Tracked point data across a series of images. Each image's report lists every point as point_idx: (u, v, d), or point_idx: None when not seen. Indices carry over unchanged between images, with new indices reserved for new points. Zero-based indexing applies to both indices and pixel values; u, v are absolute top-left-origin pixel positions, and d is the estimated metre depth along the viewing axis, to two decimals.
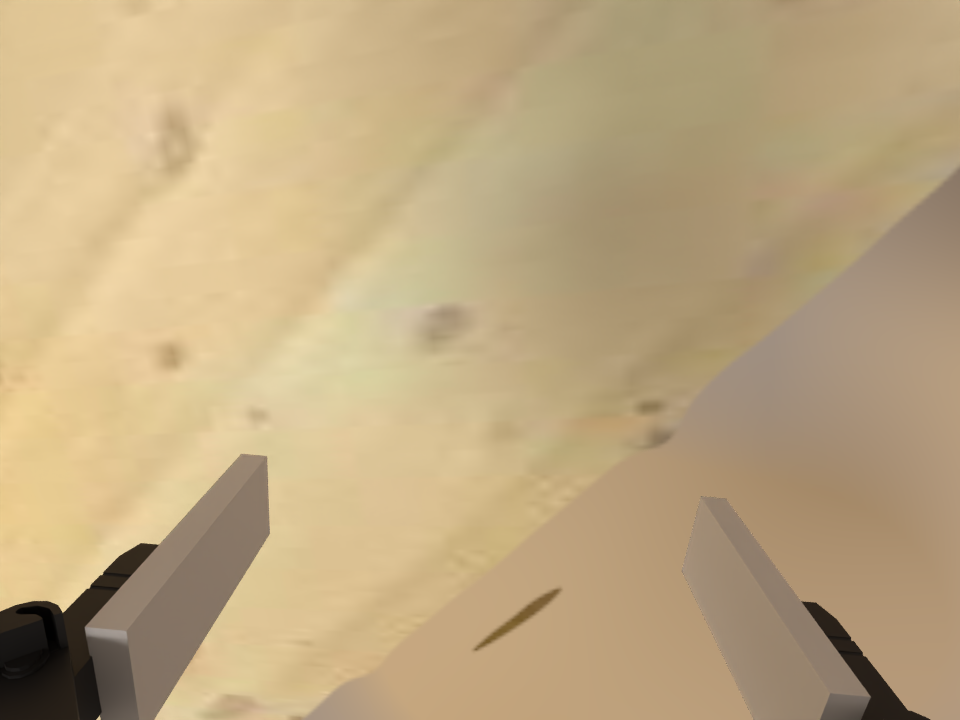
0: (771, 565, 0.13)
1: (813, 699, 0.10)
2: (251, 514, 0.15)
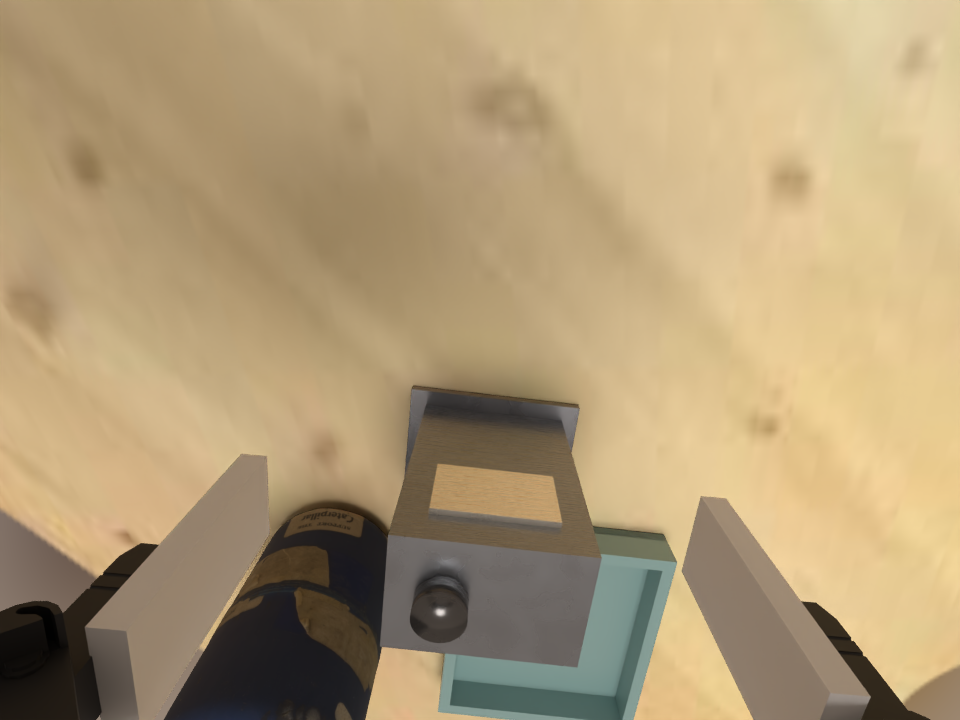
0: (771, 565, 0.13)
1: (813, 699, 0.10)
2: (251, 514, 0.15)
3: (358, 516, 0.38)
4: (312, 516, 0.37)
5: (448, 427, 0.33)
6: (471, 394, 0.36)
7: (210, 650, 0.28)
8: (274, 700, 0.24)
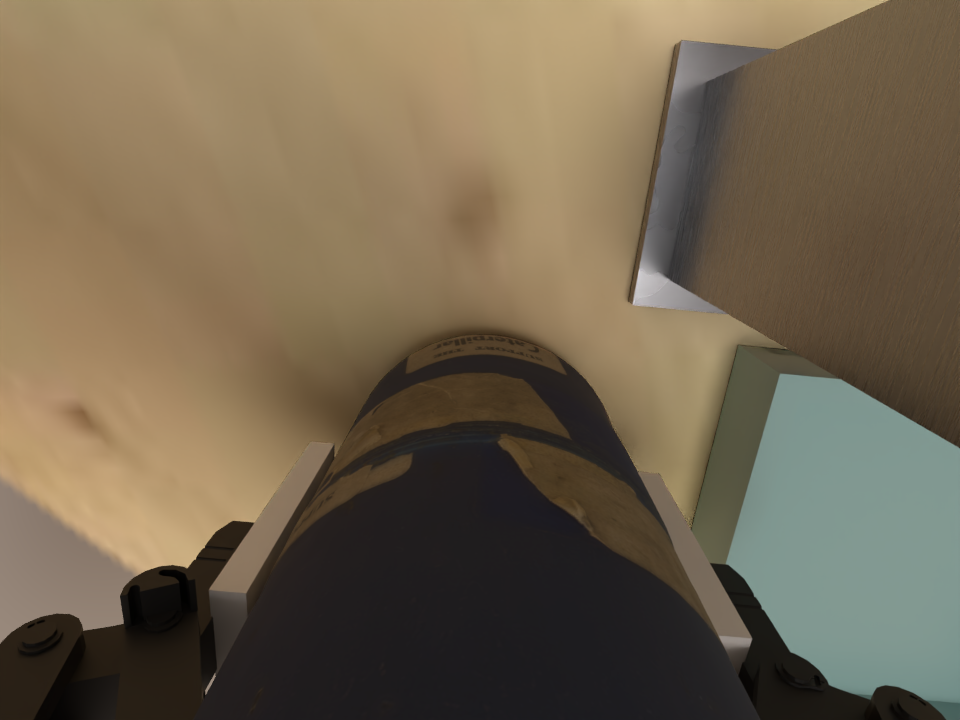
0: (688, 530, 0.14)
1: None
2: None
3: (543, 349, 0.19)
4: (457, 342, 0.18)
5: None
6: None
7: (280, 596, 0.08)
8: None
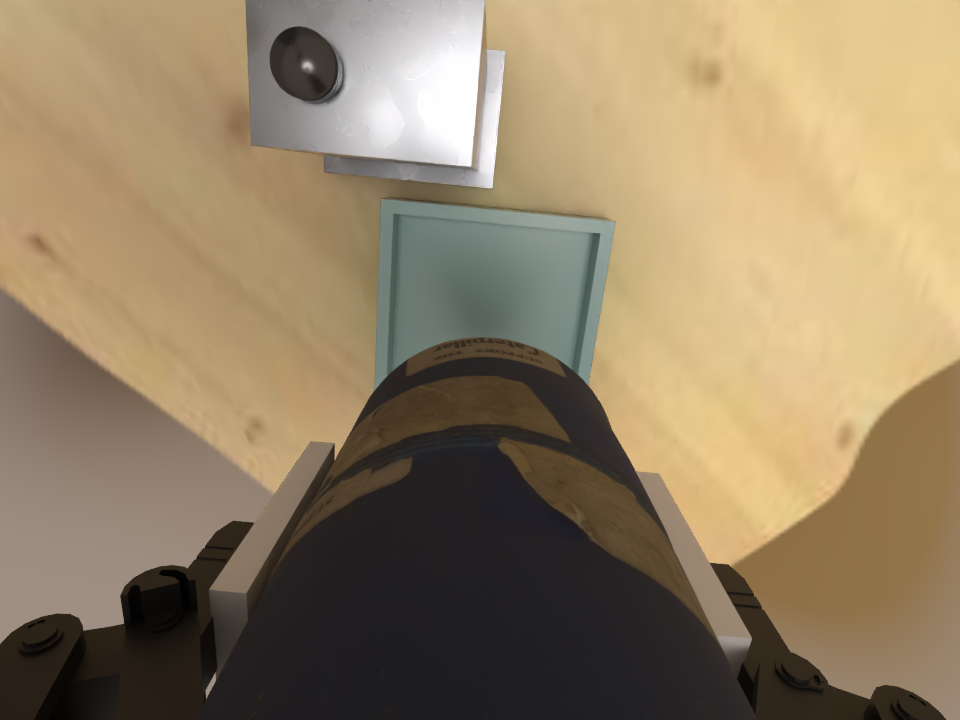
0: (687, 530, 0.14)
1: None
2: None
3: (543, 351, 0.19)
4: (457, 344, 0.18)
5: None
6: None
7: (280, 600, 0.08)
8: None
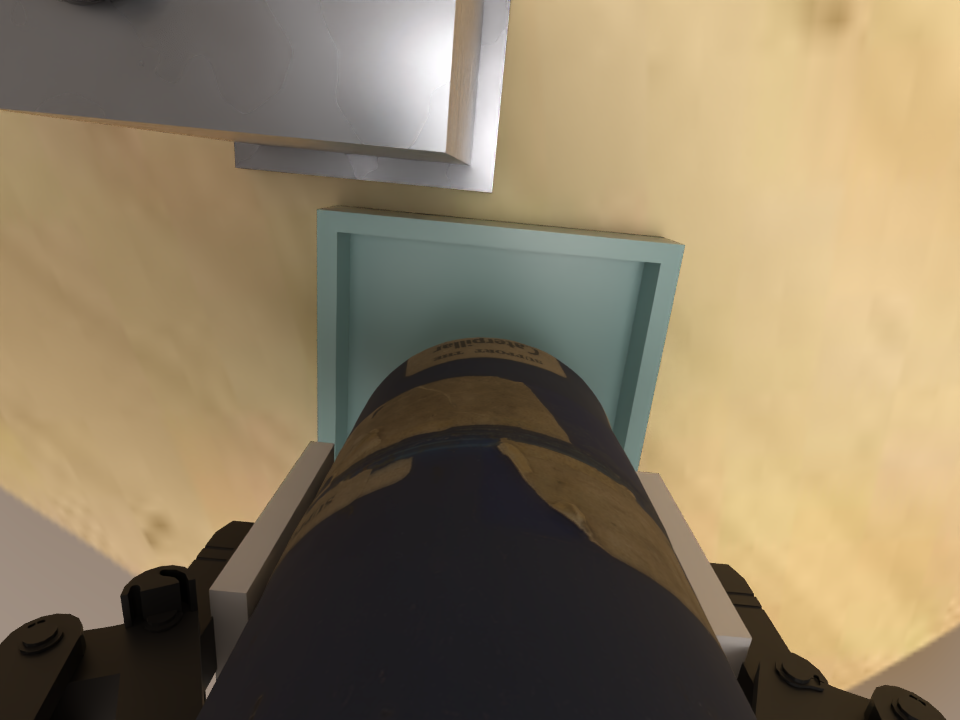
0: (687, 530, 0.14)
1: None
2: None
3: (543, 351, 0.19)
4: (457, 345, 0.18)
5: None
6: None
7: (280, 601, 0.08)
8: None
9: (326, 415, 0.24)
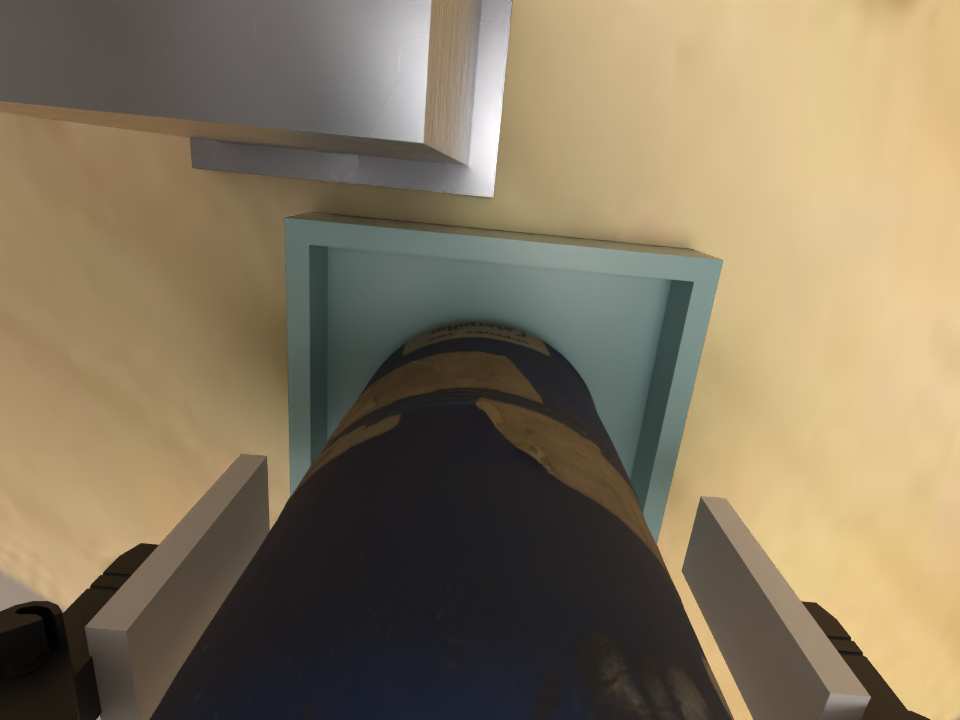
0: (771, 565, 0.13)
1: (813, 699, 0.10)
2: (251, 514, 0.15)
3: (530, 334, 0.20)
4: (450, 328, 0.19)
5: None
6: None
7: (284, 524, 0.10)
8: (554, 632, 0.06)
9: (300, 457, 0.21)
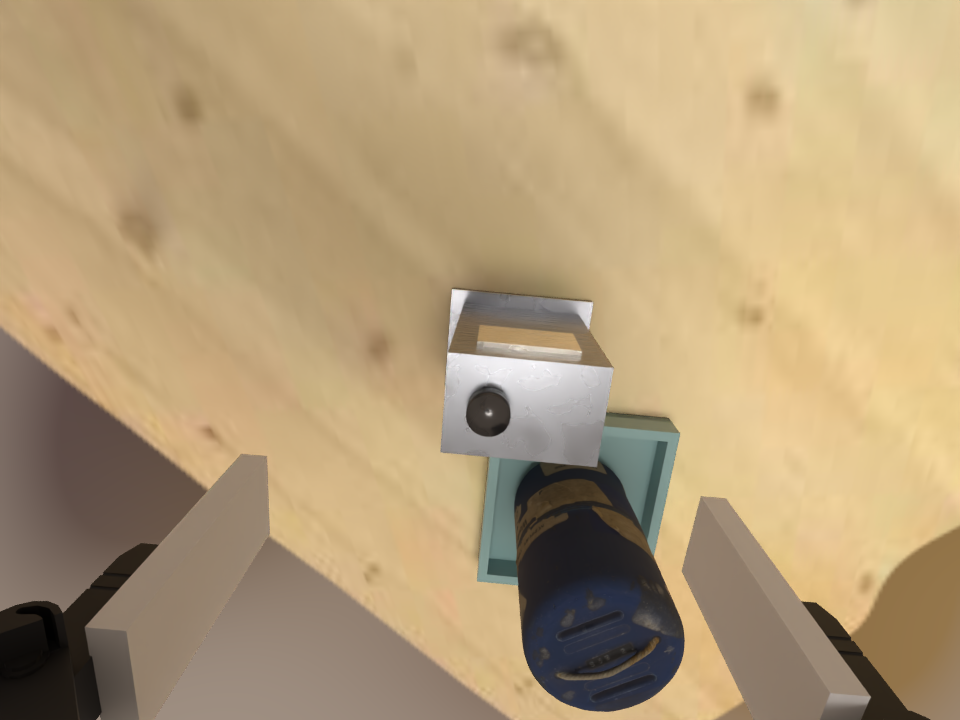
0: (771, 565, 0.13)
1: (813, 699, 0.10)
2: (251, 514, 0.15)
3: None
4: None
5: (484, 313, 0.40)
6: (501, 293, 0.43)
7: (544, 551, 0.34)
8: (631, 575, 0.31)
9: (488, 514, 0.45)
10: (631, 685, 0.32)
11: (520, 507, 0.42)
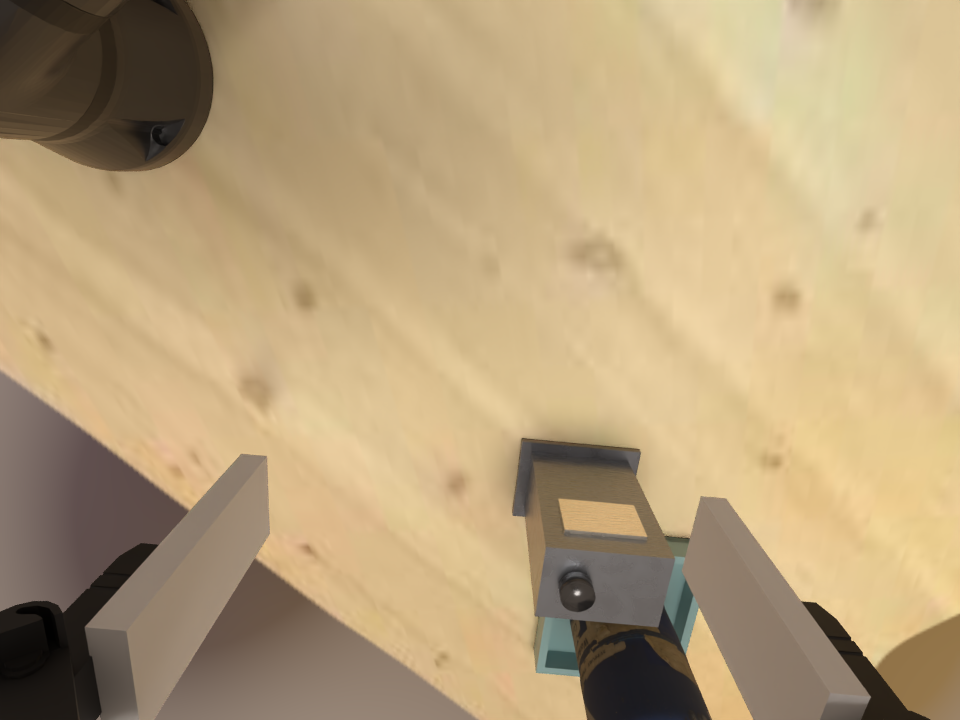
0: (771, 565, 0.13)
1: (813, 699, 0.10)
2: (251, 514, 0.15)
3: None
4: None
5: (553, 470, 0.48)
6: (563, 444, 0.51)
7: (609, 679, 0.43)
8: (684, 710, 0.39)
9: (548, 621, 0.54)
10: None
11: (578, 622, 0.51)
